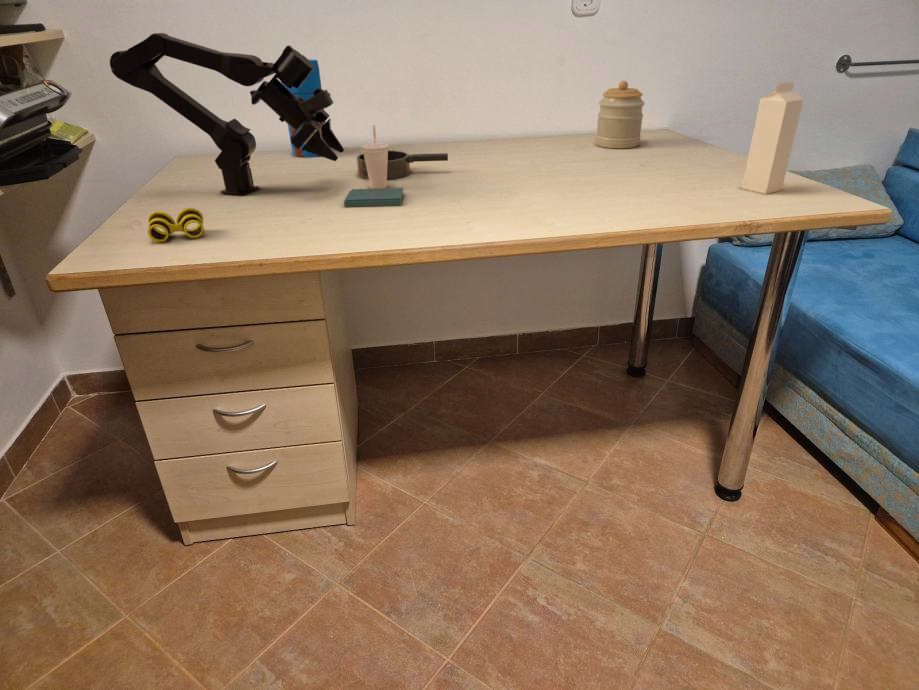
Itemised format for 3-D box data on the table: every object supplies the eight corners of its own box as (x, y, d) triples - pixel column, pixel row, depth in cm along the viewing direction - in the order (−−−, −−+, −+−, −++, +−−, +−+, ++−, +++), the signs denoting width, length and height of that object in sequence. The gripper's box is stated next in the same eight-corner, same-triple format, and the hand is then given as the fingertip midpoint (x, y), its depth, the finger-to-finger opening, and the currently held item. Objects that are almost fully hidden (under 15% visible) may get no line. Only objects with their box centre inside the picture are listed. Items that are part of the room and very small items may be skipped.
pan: (355, 180, 149) (353, 162, 146) (361, 168, 160) (360, 151, 158) (408, 179, 149) (407, 160, 147) (411, 167, 160) (410, 149, 158)
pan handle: (407, 162, 152) (406, 155, 151) (407, 161, 154) (407, 153, 153) (447, 161, 152) (447, 154, 151) (447, 160, 154) (447, 152, 153)
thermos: (314, 148, 185) (301, 58, 173) (336, 152, 179) (325, 59, 167) (285, 154, 178) (270, 61, 166) (307, 158, 172) (293, 63, 160)
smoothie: (394, 184, 145) (390, 123, 138) (389, 191, 140) (384, 128, 133) (368, 184, 146) (362, 123, 139) (362, 191, 140) (355, 128, 133)
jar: (613, 138, 188) (619, 77, 179) (648, 144, 179) (656, 80, 170) (586, 144, 181) (591, 81, 172) (621, 151, 172) (628, 84, 163)
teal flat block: (344, 207, 129) (343, 200, 128) (350, 195, 137) (349, 189, 136) (400, 205, 129) (400, 198, 128) (403, 194, 137) (402, 187, 136)
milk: (781, 190, 133) (808, 82, 122) (765, 194, 131) (791, 85, 120) (757, 184, 138) (781, 80, 127) (740, 188, 135) (763, 82, 124)
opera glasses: (151, 247, 112) (143, 223, 108) (152, 234, 115) (145, 210, 112) (206, 240, 114) (200, 217, 111) (206, 227, 118) (200, 204, 115)
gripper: (299, 80, 122) (357, 137, 128) (316, 72, 139) (367, 122, 144) (266, 121, 126) (324, 174, 132) (286, 108, 142) (337, 156, 148)
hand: (339, 155), depth 139 cm, fingers open, 9 cm apart
